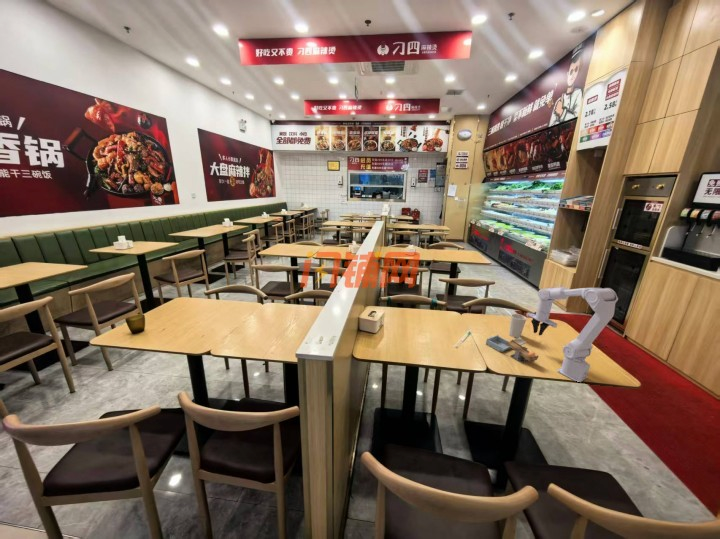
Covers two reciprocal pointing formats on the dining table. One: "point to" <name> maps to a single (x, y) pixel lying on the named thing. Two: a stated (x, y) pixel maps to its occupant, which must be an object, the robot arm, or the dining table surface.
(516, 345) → the seesaw
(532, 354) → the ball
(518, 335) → the cup
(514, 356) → the stand
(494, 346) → the tray
